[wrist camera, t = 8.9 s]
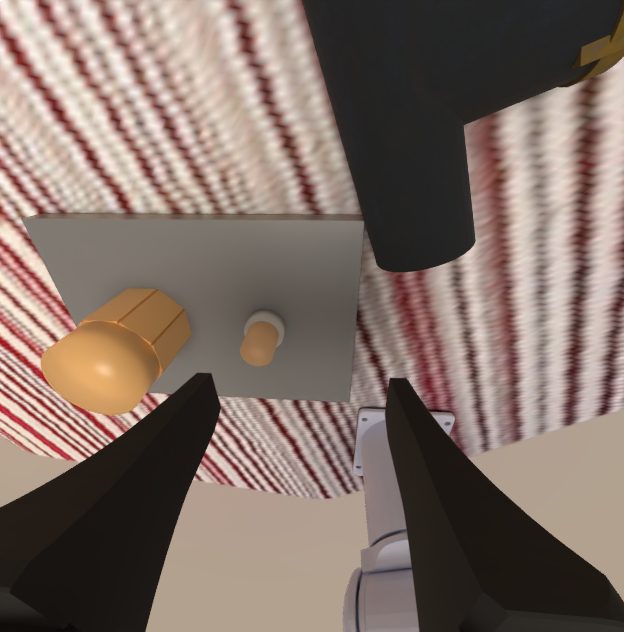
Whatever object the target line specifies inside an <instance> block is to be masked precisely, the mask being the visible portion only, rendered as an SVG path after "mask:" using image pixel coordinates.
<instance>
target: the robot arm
mask: <svg viewBox="0 0 624 632" xmlns="http://www.w3.org/2000/svg"><path fill="white" fill-rule="evenodd" d="M220 410H221V406H220V402H219V399H218V395H217V391H216V388H215V384H214V380H213V377H212V373H196V374H195V375H194V376H193V377H191V378H190V379H189V380H188V381H187V382H186V383H184V384H183V385H182V386H181V387H180V388H179V389H178V390H176V391H175V392H174V393H173V394H172V395H171V396H170V397H168V398H167V399H166V400H165V401H164V402H163V403H161V404H160V405H159V406H158V407H157V408H156V409H154V410H153V411H152V412H151V413H149V414H148V415H147V416H146V417H144V418H143V419H142V420H141V421H139V422H138V423H137V424H136V425H134V426H133V427H132V428H131V429H129V430H128V431H127V432H125V433H124V434H123V435H121V436H120V437H118V438H117V439H116V440H114V441H113V442H111V443H110V444H108V445H107V446H106V447H104V448H103V449H101V450H100V451H98V452H97V453H95V454H94V455H92V456H91V457H89V458H87V459H86V460H84V461H82V462H81V463H79V464H78V465H76V466H75V467H73V468H71V469H70V470H68V471H66V472H65V473H63V474H61V475H60V476H58V477H56V478H55V479H53V480H51V481H49V482H47V483H46V484H44V485H42V486H40V487H39V488H37V489H35V490H33V491H31V492H30V493H28V494H26V495H24V496H22V497H20V498H18V499H16V500H14V501H12V502H10V503H8V504H6V505H4V506H3V507H0V632H145V631H146V626H147V623H148V619H149V615H150V611H151V608H152V603H153V600H154V596H155V592H156V589H157V585H158V582H159V579H160V575H161V571H162V568H163V565H164V561H165V558H166V555H167V551H168V548H169V545H170V542H171V539H172V535H173V532H174V529H175V526H176V523H177V520H178V517H179V514H180V511H181V508H182V505H183V503H184V500H185V497H186V494H187V492H188V490H189V487H190V485H191V482H192V480H193V478H194V476H195V474H196V471H197V469H198V467H199V465H200V462H201V460H202V458H203V456H204V453H205V451H206V449H207V447H208V444H209V442H210V440H211V437H212V435H213V433H214V430H215V427H216V423H217V420H218V417H219V413H220ZM454 421H455V417H454V415H453V414H452V413H447V412H429V410H428V409H427V408H426V406H425V405H424V403H423V402H422V401H421V399H420V398H419V396H418V395H417V393H416V392H415V390H414V389H413V387H412V386H411V384H410V383H409V381H408V380H407V379H406V378H390V381H389V388H388V395H387V402H386V409H366V408H365V409H361V410H360V411H359V416H358V426H357V435H356V444H355V453H354V463H353V474H354V475H357V476H363V480H364V492H365V504H366V517H367V529H368V540H369V548H367V549H362V550H361V564H362V567H361V568H357V569H356V570H354V572H353V574H352V576H351V578H350V581H349V584H348V586H347V589H346V593H345V598H344V606H343V632H624V602H623V600H622V599H621V597H620V596H619V594H618V593H617V591H616V590H615V589H614V587H613V586H612V584H611V583H610V581H609V580H608V579H607V577H606V576H605V575H604V574H602V573H601V572H600V571H599V570H597V569H596V568H595V567H593V566H592V565H591V564H589V563H588V562H587V561H585V560H584V559H583V558H581V557H580V556H579V555H577V554H576V553H575V552H574V551H572V550H571V549H570V548H568V547H567V546H565V545H564V544H563V543H562V542H560V541H559V540H558V539H556V538H555V537H554V536H553V535H551V534H550V533H549V532H548V531H547V530H545V529H544V528H543V527H542V526H541V525H539V524H538V523H537V522H536V521H534V520H533V519H532V518H531V517H530V516H528V515H527V514H526V513H525V512H524V511H523V510H521V508H520V507H518V506H517V505H516V504H515V503H514V502H513V501H512V500H511V499H509V498H508V497H507V496H506V495H505V494H504V493H503V492H502V491H500V490H499V489H498V488H497V487H496V486H495V485H494V484H493V483H492V482H491V481H490V480H489V479H488V478H487V477H486V476H485V475H484V474H483V473H482V472H481V471H480V470H479V469H478V468H477V467H476V466H475V465H474V464H473V463H472V462H471V461H470V460H469V459H468V457H467V456H466V455H465V454H464V453H463V452H462V451H461V450H460V449H459V448H458V446H457V445H456V444H455V443H454V442H453V441H452V439H451V438H450V437H449V434H450V432H451V429H452V426H453V423H454Z"/></svg>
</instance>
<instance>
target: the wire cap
mask: <svg viewBox="0 0 624 632" xmlns="http://www.w3.org/2000/svg"><path fill="white" fill-rule="evenodd" d="M183 309H184V308H183V307H182V306H180V305H179V304H178V303H176V302H175V301H174V300H172V299H171V298H170V297H168V296H167V295H166V294H164V293H163V292H161V291H160V290H158V291H157V289H140V288H128V289H126V290H125V291H123V292H122V293H121V294H119V295H118V296H116V297H115V298H113V299H112V300H111V301H109V302H108V303H106V304H105V305H103V306H102V307H101V308H99V309H98V310H96V311H95V312H93V313H92V314H91V315H89V316H88V317H86V318H85V319H83V320H82V321H81V322H80V324H79V325H78V327H77V328H76V329H75V330H73V331H72V332H71V333H69V334H68V335H66V336H65V337H64V338H62V339H61V340H59V341H58V342H57V343H55V344H54V345H52V346H51V347H50V348H48V349H47V350H46V351H45V352H44V354H43V355H42V358H41V368H42V372H43V374H44V376H45V378H46V380H47V381H48V383H49V384H50V385H51V386H52V388H53V389H54V390H55V391H56V392H58V393H59V394H60V395H61V396H62V397H64V398H65V399H67V400H68V401H70V402H71V403H73V404H75V405H77V406H79V407H81V408H83V409H86V410H88V411H91V412H95V413H99V414H105V415H119V414H124V413H127V412H129V411H131V410H133V409H134V408H135V407H136V406H137V405H138V403H139V402H140V401H141V399H142V398H143V397H144V395H145V394H146V393H147V391H148V390H149V389H150V387H151V386H152V385H153V383H154V382H155V381H156V380H157V379H158V378H159V377H160V376H161V375H162V374H163V372H164V371H165V370H166V368H167V367H168V366H169V364H170V363H171V362H172V360H173V359H174V358H175V356H176V355H177V354H178V352H179V351H180V350H181V348H182V347H183V346H184V344H185V343H186V342H187V340H188V339H189V338H190V336H191V334H192V332H191V329H190V325H189V321H188V318H187V314H186V311H185V310H183Z"/></svg>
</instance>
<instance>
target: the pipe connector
mask: <svg viewBox="0 0 624 632" xmlns="http://www.w3.org/2000/svg"><path fill="white" fill-rule="evenodd" d="M302 2H303V5H304V9H305V12H306V16H307V19H308V23H309V27H310V30H311V34H312V37H313V41H314V44H315V48H316V51H317V55H318V58H319V62H320V65H321V69H322V72H323V76H324V79H325V83H326V86H327V90H328V94H329V97H330V101H331V104H332V108H333V111H334V115H335V118H336V122H337V125H338V129H339V132H340V136H341V139H342V143H343V146H344V150H345V153H346V157H347V161H348V164H349V168H350V171H351V175H352V178H353V182H354V185H355V189H356V192H357V196H358V199H359V203H360V206H361V210H362V213H363V217H364V220H365V224H366V227H367V231H368V235H369V238H370V242H371V245H372V249H373V252H374V256H375V259H376V263H377V265H378V267H380V268H381V269H383V270H386V271H390V272H412V271H419V270H424V269H428V268H432V267H436V266H439V265H442V264H445V263H447V262H450V261H452V260H454V259H456V258H458V257H460V256H462V255H463V254H465V253H466V252H467V251H469V250H470V249H471V248H472V246H473V245H474V243H475V241H476V240H475V231H474V221H473V212H472V202H471V193H470V183H469V174H468V164H467V155H466V145H465V136H464V126H463V125H465V124H467V123H470V122H472V121H475V120H477V119H480V118H482V117H484V116H487V115H489V114H492V113H494V112H497V111H499V110H502V109H504V108H507V107H509V106H512V105H514V104H516V103H519V102H521V101H524V100H526V99H529V98H531V97H534V96H536V95H539V94H541V93H543V92H546V91H548V90H551V89H553V88H556V87H569V86H572V85H574V84H577V83H579V82H582V81H584V80H586V79H589V78H591V77H594V76H596V75H599V74H601V73H604V72H605V71H607V70H608V69H610V68H611V67H613V66H614V65H615V64H617V63H618V62H619V61H620V60H621V59H622V57H623V56H624V0H302Z"/></svg>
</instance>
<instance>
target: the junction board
mask: <svg viewBox="0 0 624 632" xmlns="http://www.w3.org/2000/svg"><path fill="white" fill-rule="evenodd" d="M21 219H22V221H23V223H24V225H25V227H26V229H27V231H28V233H29V235H30V237H31V239H32V241H33V243H34V245H35V247H36V248H37V250H38V252H39V254H40V256H41V258H42V260H43V262H44V264H45V266H46V268H47V270H48V272H49V274H50V276H51V278H52V280H53V282H54V284H55V286H56V288H57V290H58V292H59V293H60V295H61V297H62V299H63V301H64V303H65V305H66V307H67V309H68V311H69V313H70V315H71V317H72V319H73V321H74V323H75V325H76V327H78V325H79V324H80V322H81V321H82V320H83V319H85V318H86V317H88V316H89V315H91V314H92V313H93V312H95V311H96V310H98V309H99V308H101V307H102V306H103V305H105V304H106V303H108V302H109V301H111V300H112V299H113V298H115V297H116V296H118V295H119V294H121V293H122V292H123V291H125V290H126V289H128V288H140V289H157V291H158V290H160V291H161V292H163V293H164V294H166V295H167V296H168V297H170V298H171V299H172V300H174V301H175V302H176V303H178V304H179V305H180V306H182V307H183V308H184V309H183V310H185V311H186V314H187V318H188V321H189V325H190V329H191V332H192V334H191V336H190V338H189V339H188V340H187V342H186V343H185V344H184V346H183V347H182V348H181V350H180V351H179V352H178V354H177V355H176V356H175V358H174V359H173V360H172V362H171V363H170V364H169V366H168V367H167V368H166V370H165V371H164V372H163V374H162V375H161V376H160V377H159V378H158V379H157V380H156V381H155V382H154V383H153V385H152V386H151V387H150V389H149V390H148V391H147V393H162V394H173V393H174V392H175V391H176V390H178V389H179V388H180V387H181V386H182V385H183V384H184V383H186V382H187V381H188V380H189V379H190V378H191V377H193V376H194V375H195V374H196V373H212V377H213V380H214V384H215V388H216V391H217V395H218V396H225V397H245V398H266V399H287V400H308V401H329V402H350V392H351V379H352V367H353V355H354V343H355V330H356V318H357V306H358V293H359V281H360V269H361V257H362V244H363V232H364V218H363V216H362V215H280V214H93V213H42V214H38V215H34V216H30V217H26V218H21Z"/></svg>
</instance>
